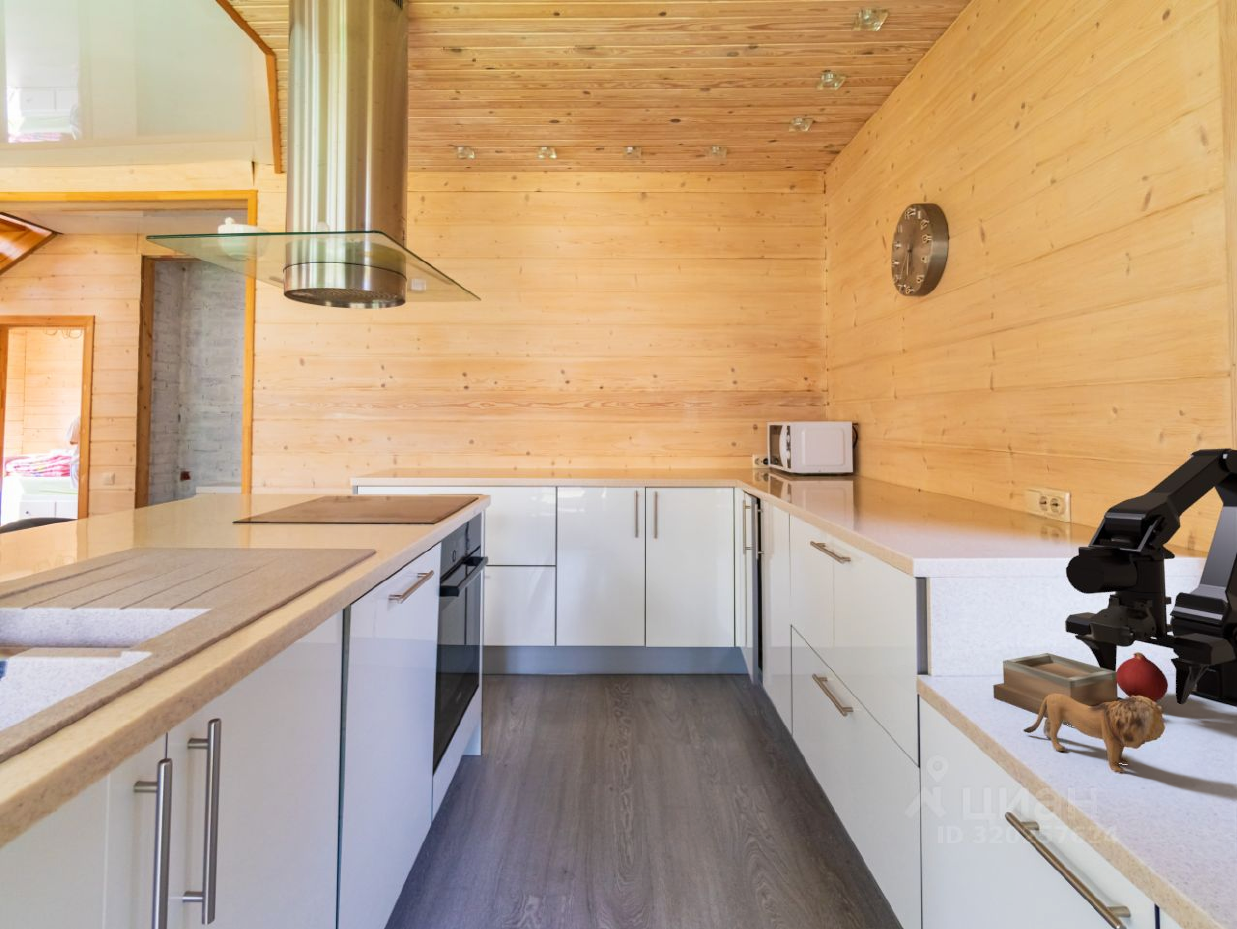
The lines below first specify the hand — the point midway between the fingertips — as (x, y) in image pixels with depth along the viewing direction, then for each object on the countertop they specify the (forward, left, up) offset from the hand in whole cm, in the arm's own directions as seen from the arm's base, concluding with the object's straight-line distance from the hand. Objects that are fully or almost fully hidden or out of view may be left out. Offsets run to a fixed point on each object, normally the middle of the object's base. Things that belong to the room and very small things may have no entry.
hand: (1144, 693), depth 88 cm
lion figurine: (+23, +7, -2) cm, 24 cm away
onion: (0, 0, -2) cm, 2 cm away
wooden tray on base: (+11, -5, -2) cm, 12 cm away
